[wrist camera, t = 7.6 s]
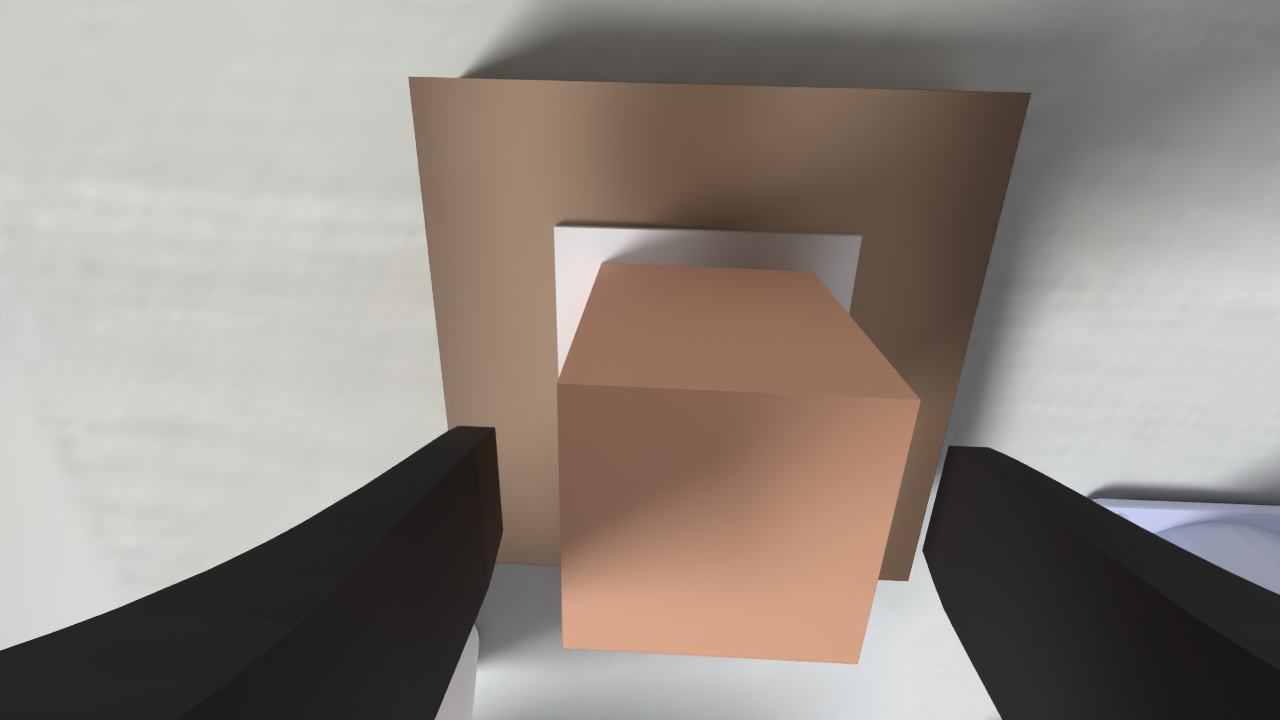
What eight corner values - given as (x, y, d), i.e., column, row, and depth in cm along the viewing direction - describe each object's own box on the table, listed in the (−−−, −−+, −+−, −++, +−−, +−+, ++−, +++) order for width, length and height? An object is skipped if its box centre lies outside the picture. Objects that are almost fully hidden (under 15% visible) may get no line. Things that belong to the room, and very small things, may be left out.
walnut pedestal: (961, 92, 15) (1036, 92, 12) (873, 511, 19) (910, 586, 16) (455, 79, 15) (404, 76, 12) (491, 495, 20) (460, 566, 17)
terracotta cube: (813, 271, 13) (921, 399, 8) (786, 453, 15) (858, 664, 9) (601, 263, 13) (556, 383, 8) (599, 445, 15) (562, 648, 9)
